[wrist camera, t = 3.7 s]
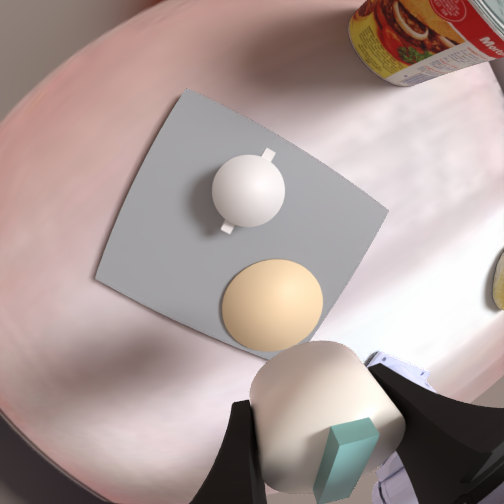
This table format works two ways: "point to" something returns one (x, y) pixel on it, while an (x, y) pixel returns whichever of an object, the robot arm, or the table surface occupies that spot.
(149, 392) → the table surface
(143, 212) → the post board
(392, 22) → the canned food
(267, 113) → the table surface
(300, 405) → the cap
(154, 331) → the table surface
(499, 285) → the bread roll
